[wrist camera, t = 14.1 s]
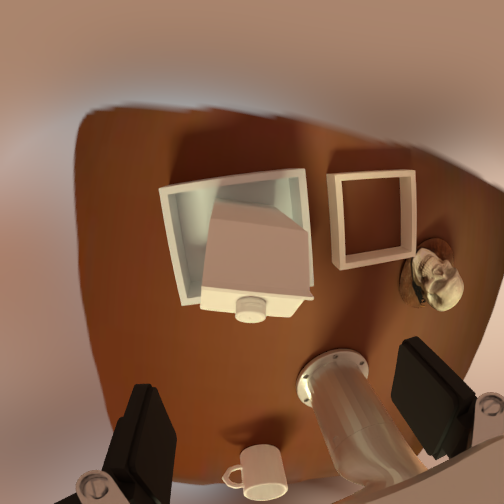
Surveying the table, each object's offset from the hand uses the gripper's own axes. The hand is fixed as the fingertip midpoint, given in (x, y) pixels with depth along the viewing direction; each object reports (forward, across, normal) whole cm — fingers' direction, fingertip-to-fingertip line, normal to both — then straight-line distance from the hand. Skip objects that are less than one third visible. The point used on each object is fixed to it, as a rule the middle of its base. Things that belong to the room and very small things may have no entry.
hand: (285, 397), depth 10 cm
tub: (+29, 0, -1) cm, 29 cm away
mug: (+30, +4, +44) cm, 53 cm away
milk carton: (+28, 0, -1) cm, 28 cm away
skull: (+30, -29, +10) cm, 42 cm away
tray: (+29, -18, 0) cm, 34 cm away
